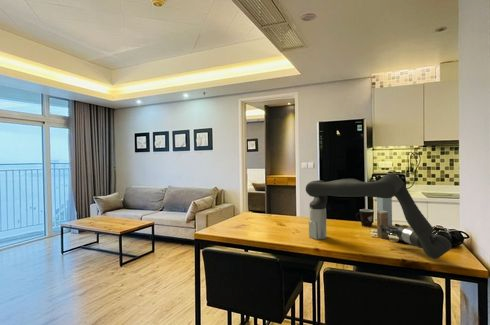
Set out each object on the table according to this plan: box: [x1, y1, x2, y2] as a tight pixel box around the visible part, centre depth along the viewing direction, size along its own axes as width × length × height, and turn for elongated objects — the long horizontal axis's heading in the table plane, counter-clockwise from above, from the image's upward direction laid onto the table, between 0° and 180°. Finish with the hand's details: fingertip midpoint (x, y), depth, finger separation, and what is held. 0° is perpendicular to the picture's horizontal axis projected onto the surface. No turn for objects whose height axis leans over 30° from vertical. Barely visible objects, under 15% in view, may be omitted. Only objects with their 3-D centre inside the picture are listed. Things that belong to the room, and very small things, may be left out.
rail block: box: [376, 210, 389, 239], centre depth 152 cm, size 4×4×15 cm
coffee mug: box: [355, 208, 375, 228], centre depth 177 cm, size 12×9×10 cm
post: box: [376, 197, 393, 226], centre depth 166 cm, size 7×7×24 cm
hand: (388, 225), depth 147 cm, fingers open, 8 cm apart
